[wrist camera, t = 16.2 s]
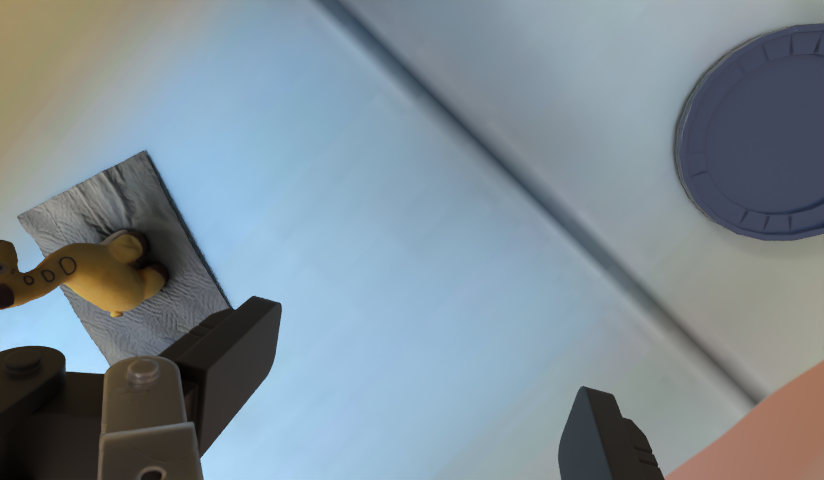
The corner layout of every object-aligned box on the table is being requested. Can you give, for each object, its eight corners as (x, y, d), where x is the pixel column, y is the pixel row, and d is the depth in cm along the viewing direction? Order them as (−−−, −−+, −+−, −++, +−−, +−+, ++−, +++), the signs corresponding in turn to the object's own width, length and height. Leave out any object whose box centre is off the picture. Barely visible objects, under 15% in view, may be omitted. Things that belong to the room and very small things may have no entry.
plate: (629, 141, 39) (635, 143, 37) (804, -22, 34) (820, -28, 33) (761, 272, 40) (773, 280, 38) (947, 130, 36) (970, 132, 34)
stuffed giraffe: (145, 150, 45) (-32, 190, 31) (242, 320, 49) (128, 430, 35) (24, 214, 50) (-181, 276, 35) (122, 365, 54) (-25, 478, 39)
